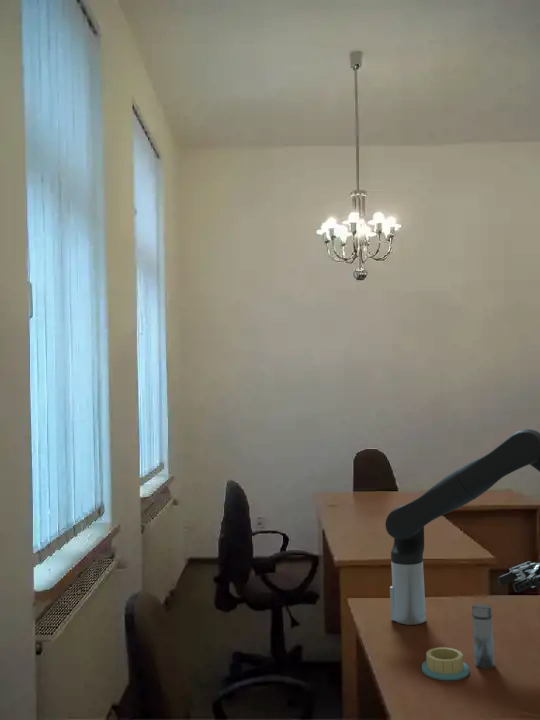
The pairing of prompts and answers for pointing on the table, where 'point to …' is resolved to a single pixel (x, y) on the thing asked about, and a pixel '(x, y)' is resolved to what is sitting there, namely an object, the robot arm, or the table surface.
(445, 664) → the ring collar
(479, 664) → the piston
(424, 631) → the table surface
